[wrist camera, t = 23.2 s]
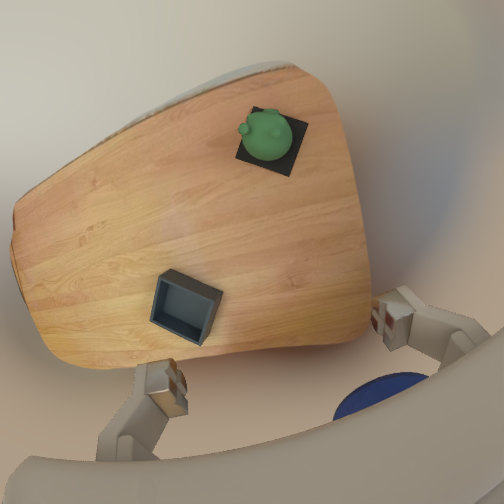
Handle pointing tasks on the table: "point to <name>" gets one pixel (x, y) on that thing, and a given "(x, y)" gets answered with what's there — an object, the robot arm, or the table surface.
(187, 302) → the crate
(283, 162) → the mat
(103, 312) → the table surface
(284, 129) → the alien toy
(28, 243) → the table surface
